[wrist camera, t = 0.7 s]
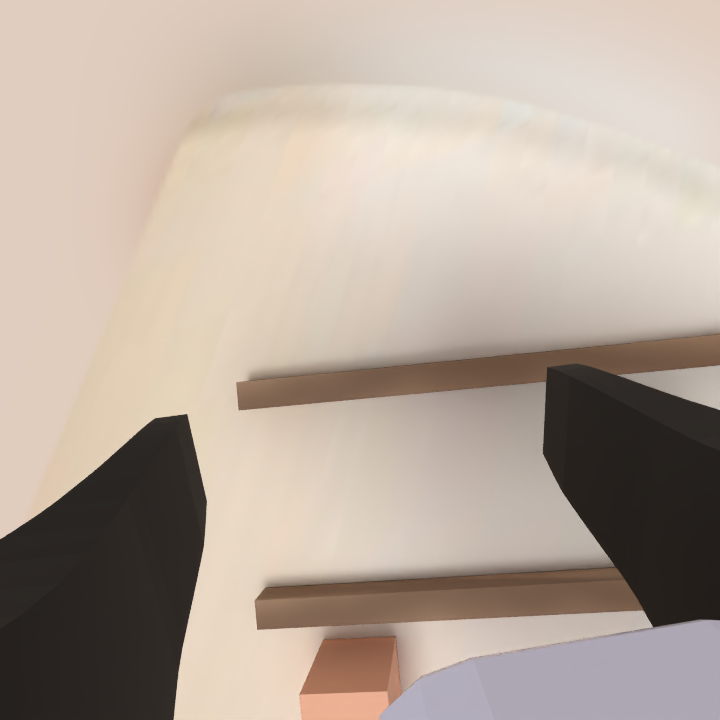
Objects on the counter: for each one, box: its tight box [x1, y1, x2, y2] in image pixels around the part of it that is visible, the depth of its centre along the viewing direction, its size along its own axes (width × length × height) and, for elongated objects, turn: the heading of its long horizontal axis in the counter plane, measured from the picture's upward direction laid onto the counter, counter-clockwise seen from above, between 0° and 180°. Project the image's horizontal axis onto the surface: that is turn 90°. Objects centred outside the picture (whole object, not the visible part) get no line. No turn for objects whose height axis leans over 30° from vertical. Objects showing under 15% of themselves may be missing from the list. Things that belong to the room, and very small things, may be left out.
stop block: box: [300, 636, 401, 720], centre depth 30 cm, size 4×4×6 cm
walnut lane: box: [236, 334, 720, 630], centre depth 32 cm, size 13×28×2 cm, turn 96°
